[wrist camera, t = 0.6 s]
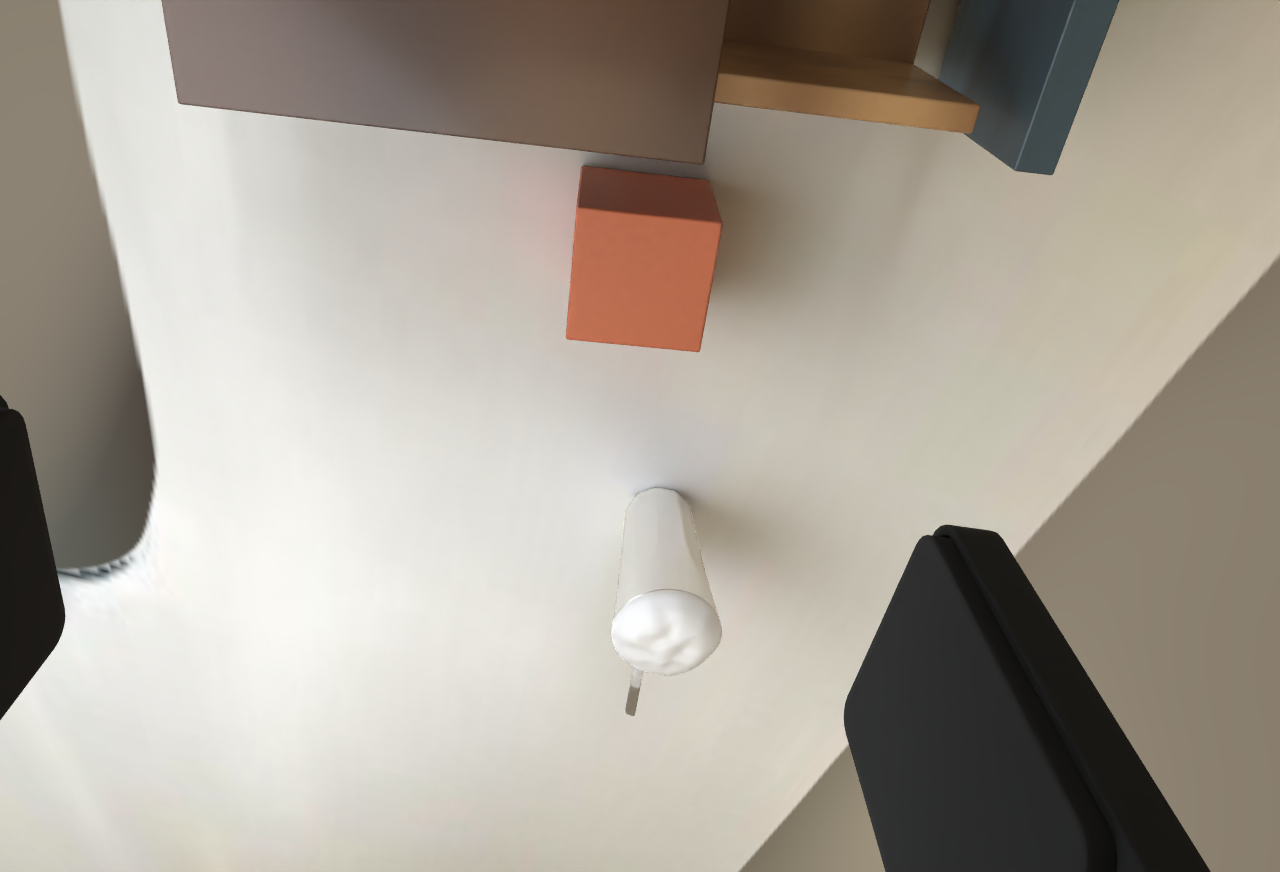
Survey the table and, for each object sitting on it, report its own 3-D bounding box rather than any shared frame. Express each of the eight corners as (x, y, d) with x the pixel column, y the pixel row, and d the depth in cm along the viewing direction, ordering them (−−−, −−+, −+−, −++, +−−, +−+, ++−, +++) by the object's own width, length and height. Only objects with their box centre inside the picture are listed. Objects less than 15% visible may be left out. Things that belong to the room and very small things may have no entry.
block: (709, 179, 33) (723, 223, 29) (689, 297, 36) (700, 353, 32) (581, 165, 33) (576, 206, 29) (571, 285, 36) (565, 340, 31)
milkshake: (586, 537, 43) (580, 696, 35) (642, 461, 40) (650, 612, 32) (663, 571, 44) (675, 732, 36) (721, 499, 42) (748, 654, 33)
